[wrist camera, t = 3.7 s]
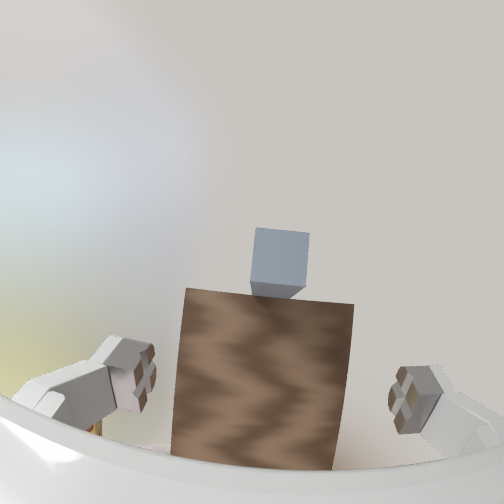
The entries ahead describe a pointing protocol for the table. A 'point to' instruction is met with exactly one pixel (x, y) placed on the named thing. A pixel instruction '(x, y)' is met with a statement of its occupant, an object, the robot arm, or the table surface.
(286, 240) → the bar
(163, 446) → the table surface
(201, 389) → the plinth
